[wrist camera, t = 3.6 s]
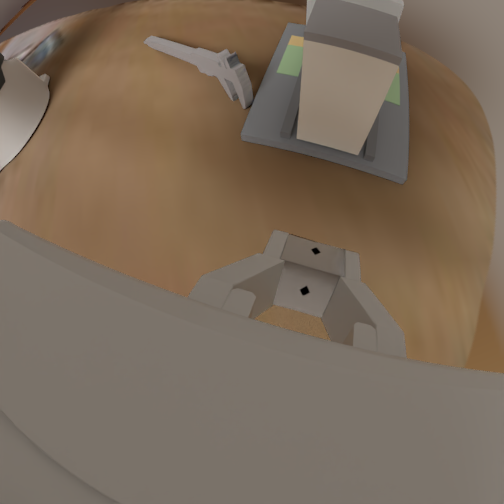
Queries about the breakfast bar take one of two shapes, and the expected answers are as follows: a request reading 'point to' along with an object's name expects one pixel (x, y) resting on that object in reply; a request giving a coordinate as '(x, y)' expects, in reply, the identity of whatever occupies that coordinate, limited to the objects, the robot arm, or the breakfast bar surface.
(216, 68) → the caliper
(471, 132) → the breakfast bar surface
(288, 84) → the grey holder
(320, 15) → the cream rectangular box
